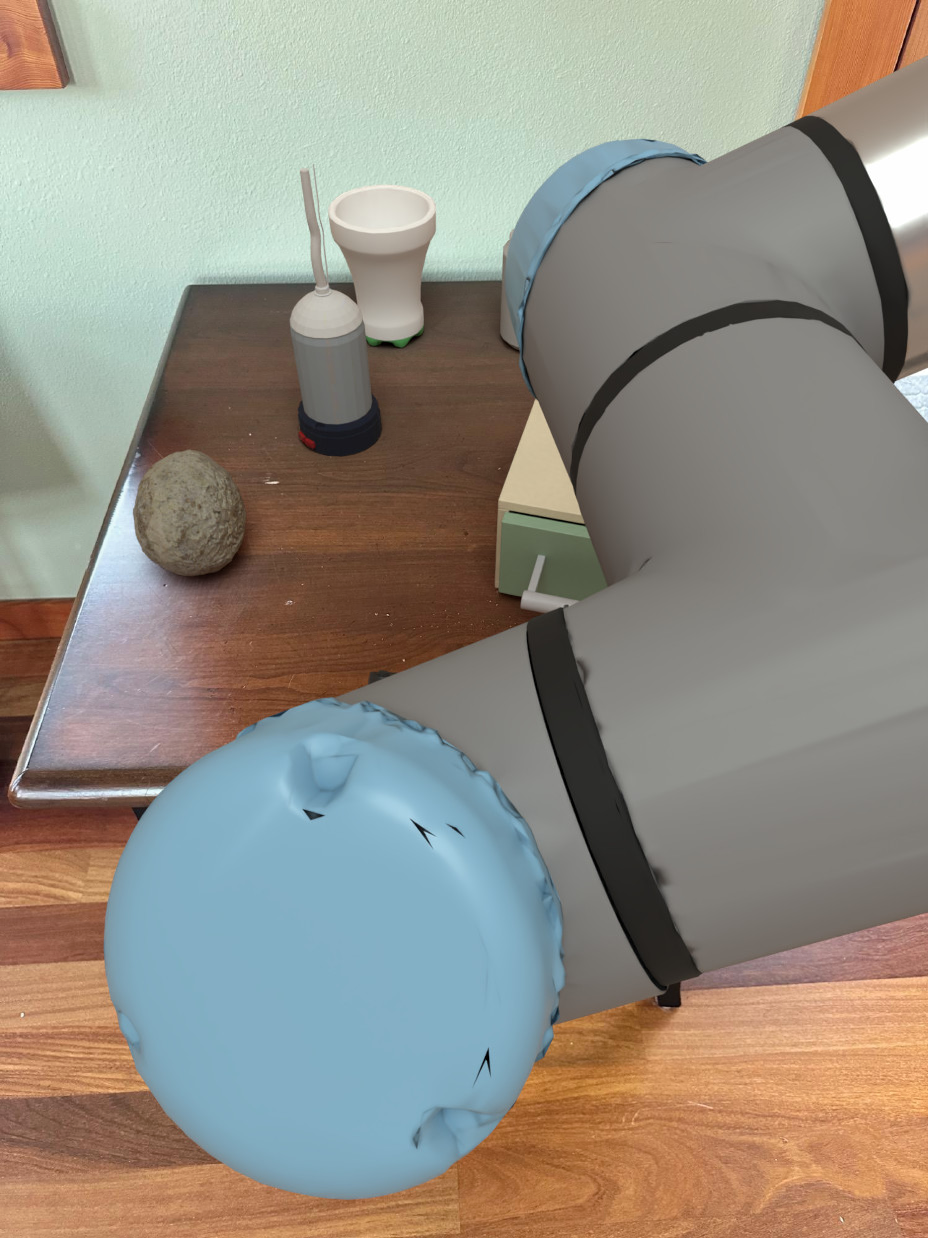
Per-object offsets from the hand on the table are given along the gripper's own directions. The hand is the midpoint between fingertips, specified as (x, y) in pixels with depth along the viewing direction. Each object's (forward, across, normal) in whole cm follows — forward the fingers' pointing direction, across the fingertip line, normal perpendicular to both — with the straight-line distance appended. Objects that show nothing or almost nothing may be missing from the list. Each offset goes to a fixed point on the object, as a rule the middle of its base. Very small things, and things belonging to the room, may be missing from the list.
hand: (547, 686), depth 50 cm
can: (+46, -13, +33) cm, 58 cm away
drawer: (+21, 0, +8) cm, 23 cm away
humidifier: (+31, -28, +17) cm, 45 cm away
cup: (+44, -29, +31) cm, 61 cm away
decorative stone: (+17, -32, +3) cm, 37 cm away
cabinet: (+25, 0, +10) cm, 27 cm away
